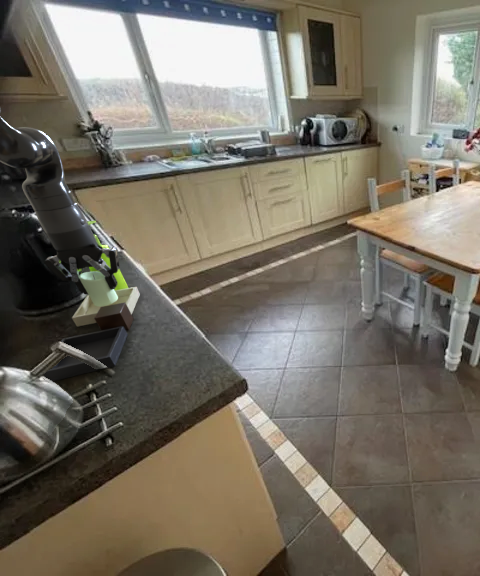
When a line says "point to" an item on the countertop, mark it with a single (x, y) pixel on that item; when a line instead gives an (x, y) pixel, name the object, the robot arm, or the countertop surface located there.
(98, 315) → the walnut block
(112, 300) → the candle
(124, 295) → the cream tray
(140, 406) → the countertop surface
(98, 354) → the charcoal tray
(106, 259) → the soap dispenser
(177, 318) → the countertop surface
